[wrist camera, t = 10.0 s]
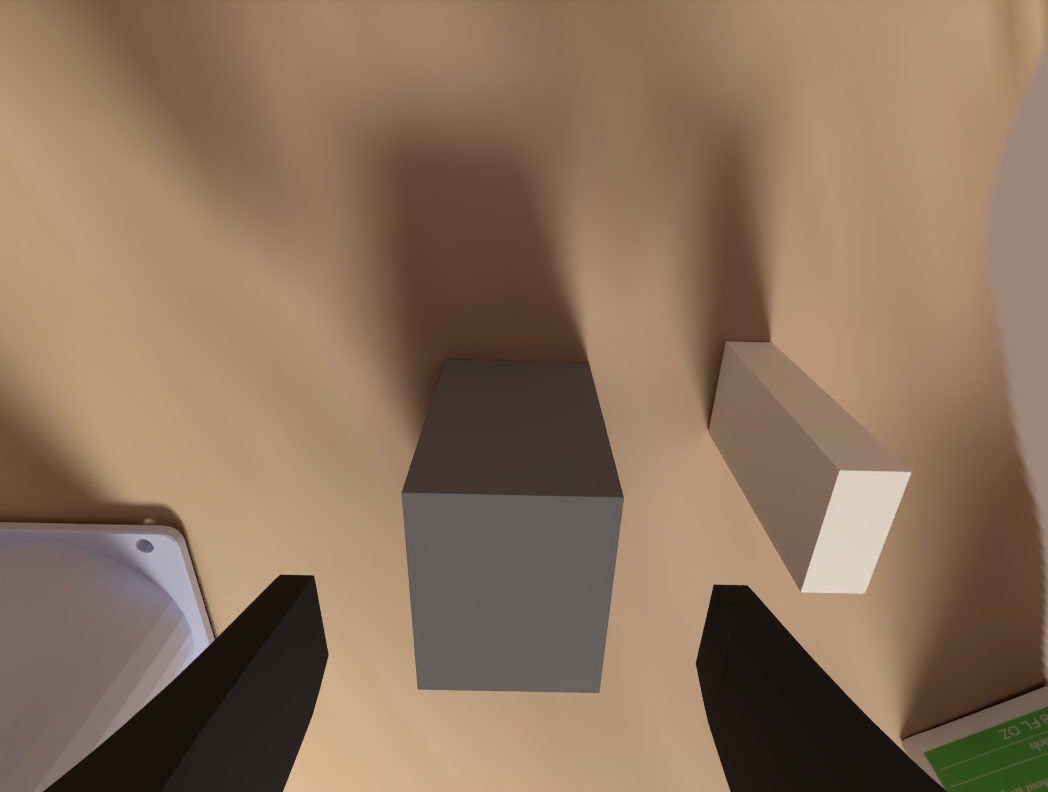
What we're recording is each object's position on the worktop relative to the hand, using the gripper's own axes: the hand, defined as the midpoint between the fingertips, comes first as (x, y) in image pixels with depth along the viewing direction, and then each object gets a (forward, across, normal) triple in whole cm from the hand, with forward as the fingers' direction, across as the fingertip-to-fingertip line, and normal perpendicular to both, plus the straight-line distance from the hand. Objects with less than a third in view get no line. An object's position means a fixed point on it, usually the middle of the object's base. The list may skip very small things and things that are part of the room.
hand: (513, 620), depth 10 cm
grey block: (+6, 0, 0) cm, 7 cm away
